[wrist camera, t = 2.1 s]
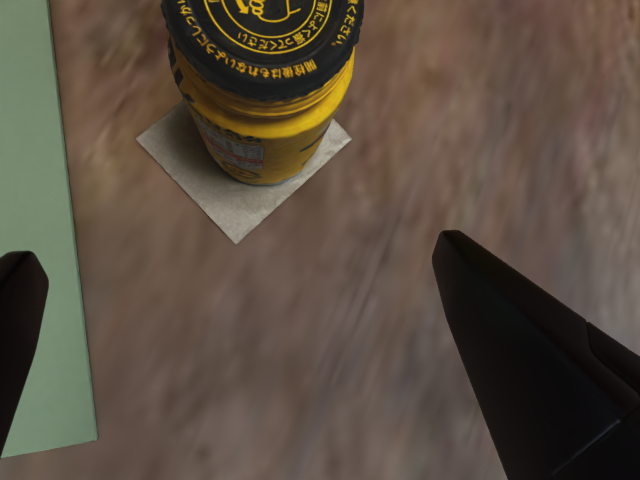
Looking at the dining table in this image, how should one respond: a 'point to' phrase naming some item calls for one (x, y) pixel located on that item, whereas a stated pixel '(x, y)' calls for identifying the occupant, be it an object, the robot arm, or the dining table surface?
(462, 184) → the dining table surface
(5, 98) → the mat
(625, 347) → the robot arm
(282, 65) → the condiment
